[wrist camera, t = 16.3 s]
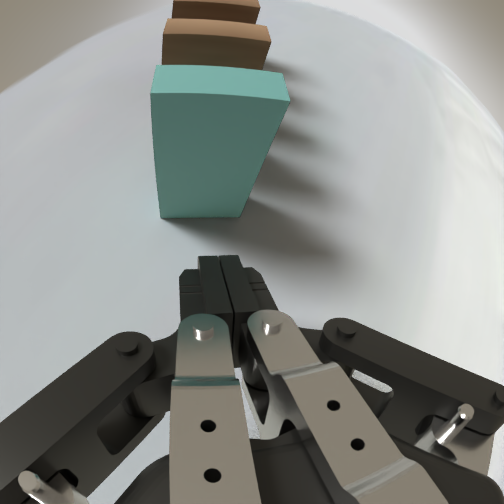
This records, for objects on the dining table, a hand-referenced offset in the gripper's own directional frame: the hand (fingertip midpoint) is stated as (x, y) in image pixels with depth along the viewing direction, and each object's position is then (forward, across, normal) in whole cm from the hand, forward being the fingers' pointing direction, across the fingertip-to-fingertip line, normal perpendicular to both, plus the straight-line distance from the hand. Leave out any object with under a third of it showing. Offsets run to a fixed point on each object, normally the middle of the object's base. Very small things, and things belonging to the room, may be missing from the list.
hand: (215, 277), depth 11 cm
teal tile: (+8, 0, 0) cm, 9 cm away
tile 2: (+12, 0, -3) cm, 12 cm away
